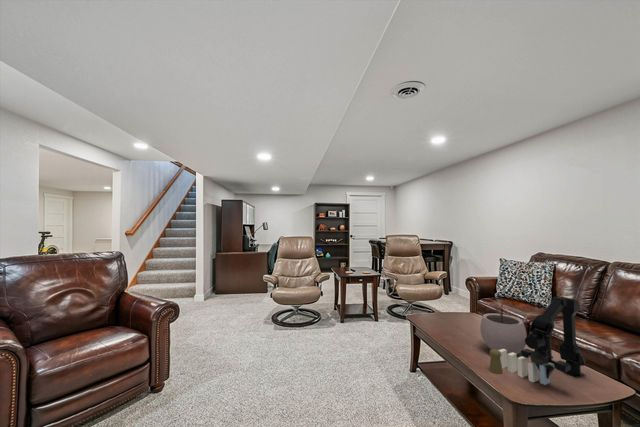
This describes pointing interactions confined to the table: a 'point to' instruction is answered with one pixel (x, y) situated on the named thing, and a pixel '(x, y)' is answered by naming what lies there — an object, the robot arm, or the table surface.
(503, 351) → the domino
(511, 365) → the domino
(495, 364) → the olive green pawn
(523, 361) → the domino
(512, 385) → the table surface
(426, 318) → the table surface
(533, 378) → the domino
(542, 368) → the domino
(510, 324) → the plant pot
